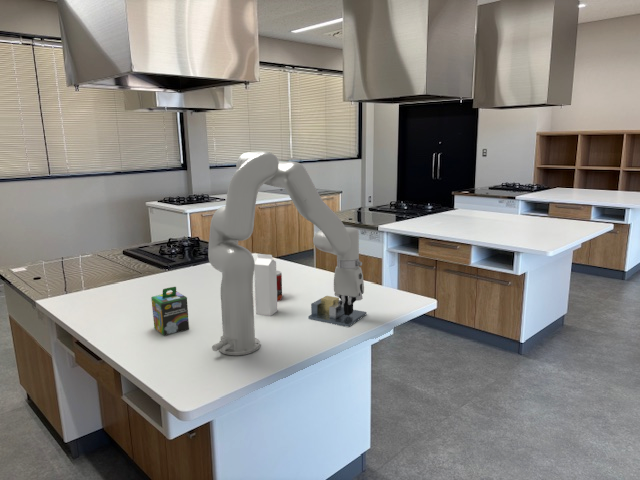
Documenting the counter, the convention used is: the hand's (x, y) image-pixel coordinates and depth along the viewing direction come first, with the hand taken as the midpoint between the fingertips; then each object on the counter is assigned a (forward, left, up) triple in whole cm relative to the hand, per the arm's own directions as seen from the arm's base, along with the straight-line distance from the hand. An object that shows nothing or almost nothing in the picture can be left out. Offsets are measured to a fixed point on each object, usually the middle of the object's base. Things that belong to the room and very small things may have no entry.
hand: (348, 313), depth 165 cm
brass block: (0, +7, -1) cm, 7 cm away
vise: (0, +4, -2) cm, 5 cm away
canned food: (+5, +37, -2) cm, 38 cm away
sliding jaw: (0, +4, -1) cm, 4 cm away
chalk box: (-38, +47, -2) cm, 61 cm away
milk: (-9, +29, -2) cm, 31 cm away
